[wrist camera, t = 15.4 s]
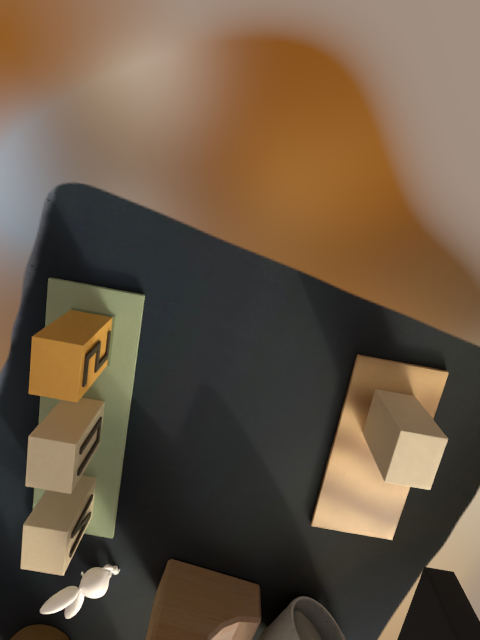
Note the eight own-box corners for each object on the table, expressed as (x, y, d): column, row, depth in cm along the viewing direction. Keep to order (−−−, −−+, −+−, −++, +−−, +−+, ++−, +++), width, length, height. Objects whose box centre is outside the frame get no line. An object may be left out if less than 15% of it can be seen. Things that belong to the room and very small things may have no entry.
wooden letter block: (58, 470, 48) (22, 524, 41) (98, 477, 49) (69, 532, 41) (55, 510, 50) (20, 569, 42) (94, 516, 50) (65, 576, 42)
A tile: (375, 388, 45) (400, 430, 37) (416, 396, 45) (450, 439, 37) (362, 433, 46) (384, 482, 39) (402, 440, 47) (432, 490, 39)
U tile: (65, 394, 46) (28, 435, 38) (107, 401, 46) (78, 444, 38) (61, 437, 47) (25, 486, 40) (102, 444, 47) (73, 494, 40)
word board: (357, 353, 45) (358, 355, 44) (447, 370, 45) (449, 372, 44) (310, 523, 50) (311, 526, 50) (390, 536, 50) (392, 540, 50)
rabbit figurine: (131, 583, 53) (68, 633, 51) (117, 554, 55) (56, 601, 53) (113, 570, 49) (43, 624, 46) (98, 539, 51) (31, 589, 49)
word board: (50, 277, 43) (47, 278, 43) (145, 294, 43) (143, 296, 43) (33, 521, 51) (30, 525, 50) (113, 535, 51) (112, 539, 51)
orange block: (70, 309, 43) (31, 336, 36) (114, 317, 43) (85, 345, 36) (66, 358, 45) (28, 394, 37) (109, 366, 45) (80, 403, 37)
